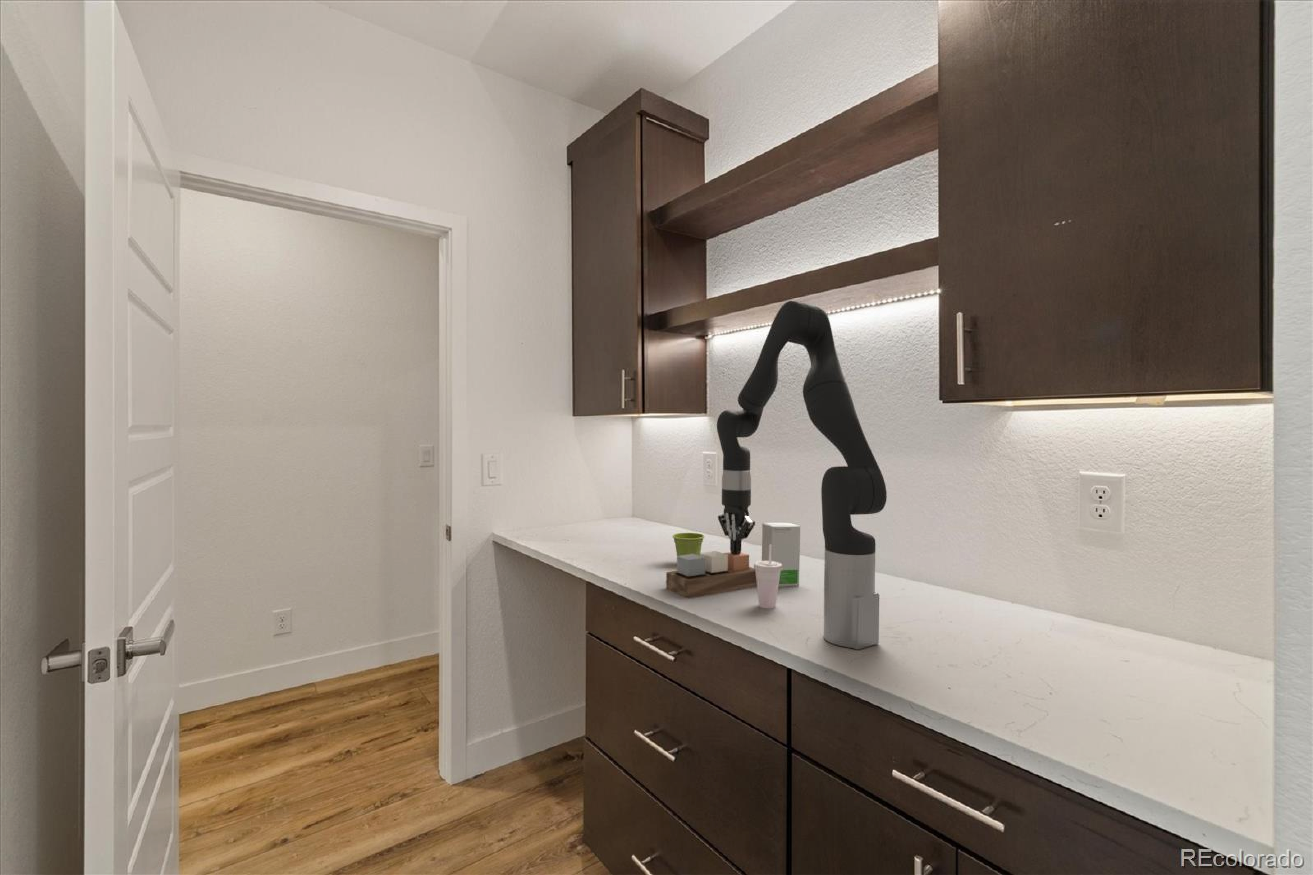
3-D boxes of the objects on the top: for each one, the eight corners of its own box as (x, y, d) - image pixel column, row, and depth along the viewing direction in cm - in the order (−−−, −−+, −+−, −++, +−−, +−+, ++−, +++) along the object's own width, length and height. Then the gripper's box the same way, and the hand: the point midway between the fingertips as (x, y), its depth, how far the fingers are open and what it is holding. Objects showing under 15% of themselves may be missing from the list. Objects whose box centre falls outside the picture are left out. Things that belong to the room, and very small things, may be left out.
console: (759, 585, 152) (759, 570, 152) (688, 598, 140) (688, 581, 140) (735, 577, 160) (735, 562, 160) (666, 588, 149) (666, 572, 149)
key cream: (727, 570, 149) (727, 554, 149) (711, 572, 147) (711, 556, 147) (715, 566, 154) (715, 551, 153) (699, 568, 151) (700, 553, 151)
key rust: (749, 570, 153) (749, 554, 153) (733, 572, 150) (733, 556, 150) (736, 566, 157) (736, 551, 157) (721, 568, 155) (721, 553, 154)
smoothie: (774, 612, 130) (774, 548, 130) (748, 606, 134) (748, 545, 134) (786, 605, 135) (787, 544, 135) (761, 600, 139) (761, 540, 139)
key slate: (705, 573, 146) (705, 557, 146) (688, 576, 143) (688, 560, 143) (693, 569, 150) (693, 553, 150) (676, 572, 147) (677, 556, 147)
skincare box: (770, 588, 150) (771, 526, 149) (759, 581, 156) (760, 522, 156) (800, 586, 152) (801, 525, 151) (789, 579, 158) (789, 521, 158)
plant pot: (694, 570, 167) (694, 539, 167) (666, 565, 173) (666, 536, 172) (710, 563, 175) (710, 534, 175) (682, 559, 180) (682, 531, 180)
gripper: (764, 489, 150) (763, 557, 150) (731, 484, 161) (731, 547, 161) (741, 490, 146) (740, 560, 146) (709, 485, 157) (708, 550, 157)
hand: (735, 553), depth 154 cm, fingers closed
